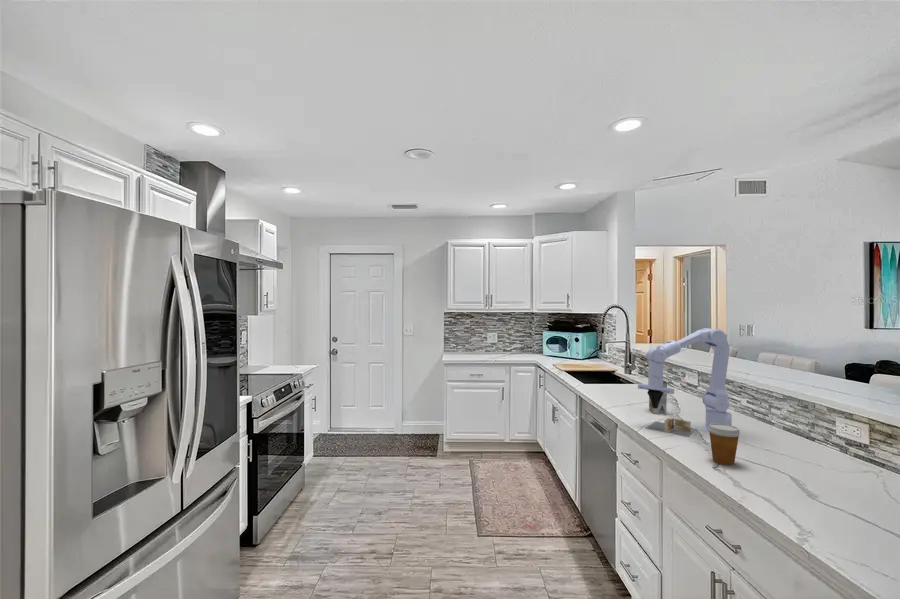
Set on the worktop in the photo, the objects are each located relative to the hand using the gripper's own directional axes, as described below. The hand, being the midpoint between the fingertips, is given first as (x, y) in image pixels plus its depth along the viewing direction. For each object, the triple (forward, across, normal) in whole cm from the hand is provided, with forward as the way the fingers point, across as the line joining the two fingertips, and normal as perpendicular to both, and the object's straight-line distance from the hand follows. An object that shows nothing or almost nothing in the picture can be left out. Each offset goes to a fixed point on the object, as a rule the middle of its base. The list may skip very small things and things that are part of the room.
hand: (655, 407), depth 185 cm
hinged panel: (+8, +5, +2) cm, 10 cm away
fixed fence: (+9, +9, +6) cm, 14 cm away
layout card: (+9, +5, +5) cm, 11 cm away
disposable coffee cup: (+10, +31, -20) cm, 39 cm away
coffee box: (+10, -12, +32) cm, 35 cm away
